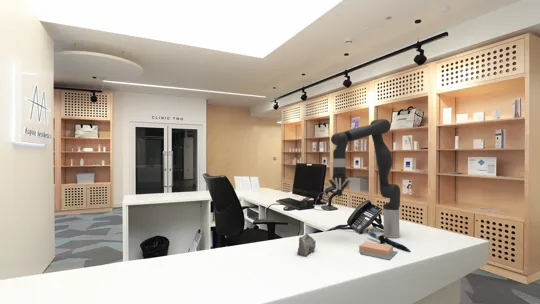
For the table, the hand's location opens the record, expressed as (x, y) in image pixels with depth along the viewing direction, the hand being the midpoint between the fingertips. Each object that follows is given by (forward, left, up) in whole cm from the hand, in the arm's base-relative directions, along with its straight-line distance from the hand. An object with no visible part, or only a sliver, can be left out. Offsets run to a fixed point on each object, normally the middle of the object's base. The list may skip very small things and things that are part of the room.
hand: (339, 195), depth 160 cm
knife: (-12, +23, -27) cm, 38 cm away
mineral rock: (+28, -5, -27) cm, 40 cm away
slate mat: (+6, +24, -27) cm, 37 cm away
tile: (+6, +16, -25) cm, 30 cm away
